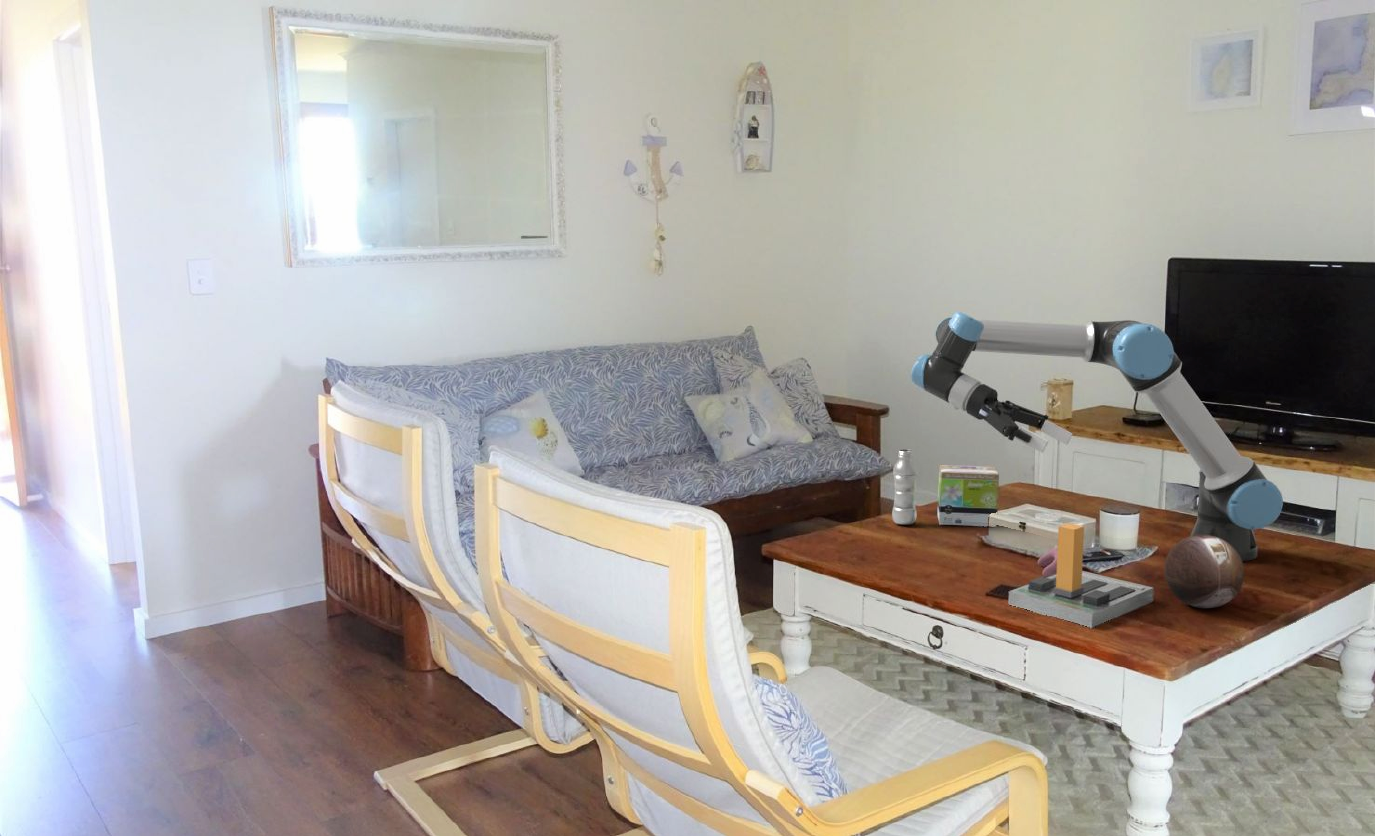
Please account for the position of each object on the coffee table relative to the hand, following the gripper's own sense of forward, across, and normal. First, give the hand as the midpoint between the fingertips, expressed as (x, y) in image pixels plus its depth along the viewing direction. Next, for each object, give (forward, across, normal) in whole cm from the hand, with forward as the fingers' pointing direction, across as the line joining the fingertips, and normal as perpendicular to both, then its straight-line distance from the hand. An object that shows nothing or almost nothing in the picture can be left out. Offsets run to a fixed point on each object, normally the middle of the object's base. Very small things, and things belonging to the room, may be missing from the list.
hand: (1057, 443), depth 245 cm
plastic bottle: (-36, -30, -49) cm, 68 cm away
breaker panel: (+21, +6, -26) cm, 34 cm away
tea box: (-24, -42, -44) cm, 65 cm away
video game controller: (+9, -12, -31) cm, 34 cm away
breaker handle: (+19, +11, -24) cm, 32 cm away
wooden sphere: (+40, -6, -18) cm, 44 cm away
